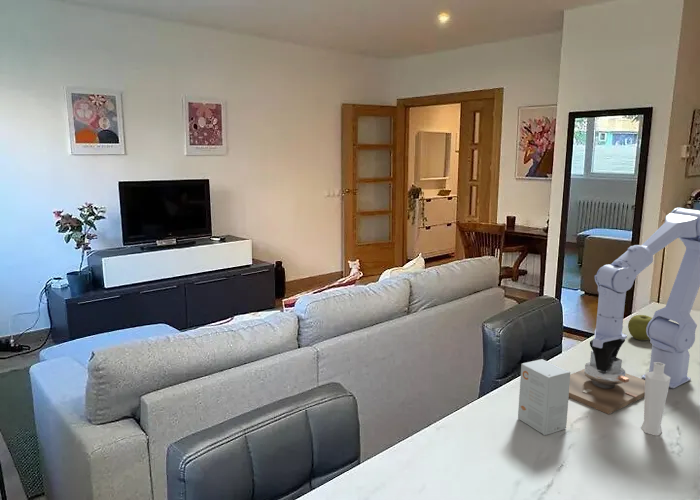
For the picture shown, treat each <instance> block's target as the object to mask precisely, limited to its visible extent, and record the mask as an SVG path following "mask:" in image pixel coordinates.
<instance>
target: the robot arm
mask: <svg viewBox="0 0 700 500" xmlns="http://www.w3.org/2000/svg"><path fill="white" fill-rule="evenodd" d="M677 239H679V241H681V242H682V243H683V245H684V247H685V251H684V255H683V257H682V260H681V262H680V265H679V268H678V271H677V274H676V276H675V278H674V279H675V280H674V282H673V284H672V285H673V286H672V288H671V291H670V293H669V296H668V298H667V302H666V304H665V306H664V307H662V308H660V309H658V310H655V312H654V313H653V317H651V318H652V319H651V320H650V321H649V323H648V325H647V328H646V333H647V336H648V337H649V338H650V339H649V340H650V341H649V342H650V344H652V345H651V350H650V351H651V352H650V361H649V369H648V372H652V371H653V369H654V362H660V363H663V364H665V366H664V374H666V375H667V376H669V377H671V379H670V383H669V388H671V389H676V388H677V387H680V386H681V385H684V384H685V383H687V382H689V381H691V380H692V379H691V377H689V376H688V372H689V364H690V351H689V350H690V349H691V348H692V347H693V345H694V344H695V341H696V330H697V326H698V324H697V323H696V321H695V320H694V319H693V317H692V315H691V312H692V309H693V305H694V304H695V300H696V298H697V295H698V293H699V289H700V210H698V209H691V208H684V207H675V208H673V210H671V211H670V212H669V213H668V214H666V215H665V218H664V222H663V224H662V225H660V227H658V228H657V230H655V232H654V233H652V234H651V235H650V236H649V237H648V238H647V239H646V240H644V242H643V243H642V244H634V245H630V246H629V247H627V250H626V251H625V252H624V253H623V254H621V255H620V256H618V257H617V258H616V259H615V260H613V262H612V263H610V264H609V263H608V264H604V265H603V266H601V267H599V269H598V270H597V272H596V274H595V275H594V282H595V284H596V285H597V292H598V301H597V302H598V303H597V310H596V311H597V313H596V324H595V329H594V332H593V333H594V337H593V338H592V340H590V341H589V347H590V348H591V351H593V353H594V356H595V362H596V367H597V370H600V371H604V372H606V371H607V369H608V366H609V362H610V358H611V355H612V356H614V357H616V358H618V357H617V356H618V353H619V351H620V349H621V347H622V346H623V344H624V343H625V341H626V339H627V338H628V335H627V334H624V333H623V328H624V326H623V324H624V313H625V305H626V303H625V302H626V296H627V295H626V294H627V291H629V290H631V288H632V287H633V285H634V282H635V280H636V279H637V277H638V275H639V274H640V273H642V272H643V271H644V270H646V269H647V267H649V266H650V265H652V264H653V261H654V255H655V254H658V252H660V251H661V250H663V249H665V247H667V246H668V245H670V244H671V243H673V242H674V241H675V240H677ZM641 379H643V380H645V373H644V374H643V375H641Z"/></svg>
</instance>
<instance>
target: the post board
mask: <svg viewBox="0 0 700 500" xmlns="http://www.w3.org/2000/svg"><path fill="white" fill-rule="evenodd" d="M584 371H585V368H584V369H580V370H578V371H576V372H573V373H570V384H569V398H571V399H572V400H574V401H577V402H579V403H581V404H584V405H586V406H588V407H591V408H593V409H596V410H598V411H600V412H602V413H605V414H607V415H611V414H613V413H615V412H617V411H618V410H621V409H623V408H624V407H626V406H629V405H631V404H633V403H636V402H637V401H638V400H639V401H640V400H641V399H643V398H645V379H644V378H642V377H637V376H634V375H632V374H629V373H627V372H625V377H626V378H629V382H626V383H624V382H623V383H621V384H603V383H599V382H596V381H593V380H591V379H589V378H587V377H586V376H585V374H584Z"/></svg>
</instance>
